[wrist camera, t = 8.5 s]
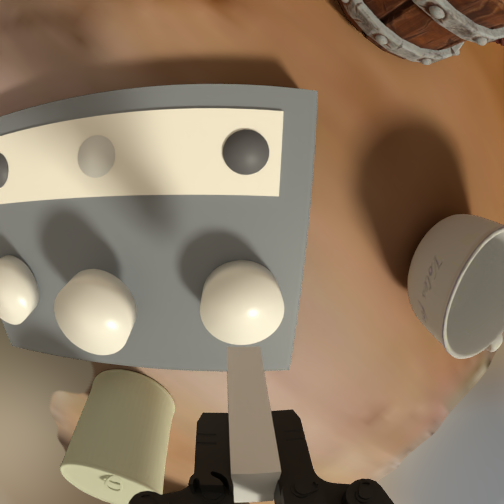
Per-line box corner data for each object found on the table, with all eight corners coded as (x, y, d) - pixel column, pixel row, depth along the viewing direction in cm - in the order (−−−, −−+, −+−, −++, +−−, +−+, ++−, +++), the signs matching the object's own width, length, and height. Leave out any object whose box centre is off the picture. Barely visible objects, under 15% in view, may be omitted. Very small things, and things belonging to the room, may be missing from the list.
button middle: (142, 339, 18) (134, 359, 16) (77, 333, 18) (66, 350, 16) (131, 270, 16) (120, 285, 14) (60, 267, 16) (45, 281, 14)
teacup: (378, 235, 22) (436, 280, 15) (469, 182, 21) (534, 205, 13) (409, 348, 27) (445, 399, 20) (482, 297, 26) (525, 334, 18)
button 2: (45, 314, 19) (34, 328, 17) (5, 308, 19) (-7, 320, 17) (30, 255, 17) (16, 266, 15) (-10, 254, 17) (-24, 264, 15)
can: (187, 390, 27) (176, 497, 15) (162, 432, 29) (150, 519, 18) (99, 354, 24) (55, 454, 13) (89, 404, 27) (59, 486, 16)
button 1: (276, 326, 20) (280, 344, 19) (203, 326, 20) (201, 344, 18) (282, 260, 19) (288, 274, 17) (201, 259, 18) (198, 273, 16)
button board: (283, 346, 25) (290, 372, 22) (25, 329, 23) (10, 347, 20) (305, 97, 18) (319, 90, 15) (-9, 126, 16) (-33, 128, 13)
